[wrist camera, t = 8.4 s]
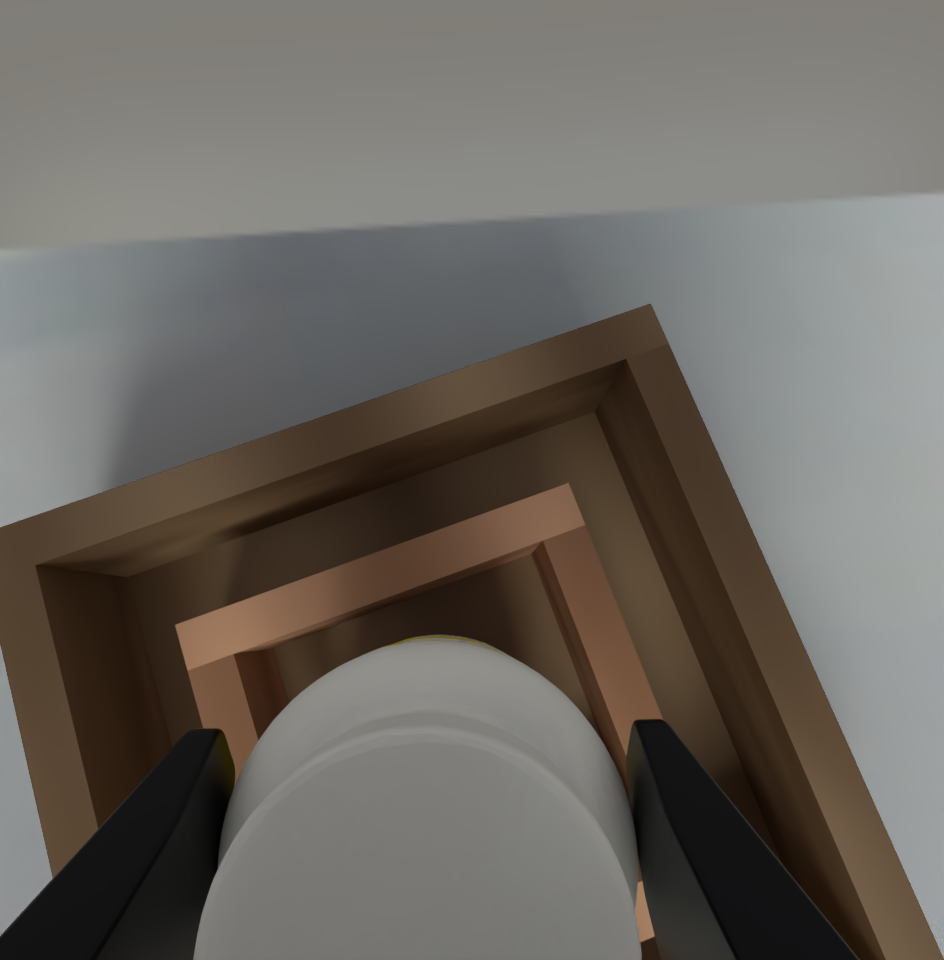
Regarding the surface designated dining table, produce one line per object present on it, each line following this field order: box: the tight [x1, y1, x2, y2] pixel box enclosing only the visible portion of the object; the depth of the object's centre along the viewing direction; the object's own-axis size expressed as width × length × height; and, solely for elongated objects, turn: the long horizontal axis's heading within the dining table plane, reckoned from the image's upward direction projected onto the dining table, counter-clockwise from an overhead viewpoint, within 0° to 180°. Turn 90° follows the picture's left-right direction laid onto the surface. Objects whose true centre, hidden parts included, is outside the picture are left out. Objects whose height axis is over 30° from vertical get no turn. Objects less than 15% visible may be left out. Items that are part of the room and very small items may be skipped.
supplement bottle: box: [193, 635, 642, 960], centre depth 11 cm, size 5×5×10 cm
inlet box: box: [0, 304, 944, 960], centre depth 16 cm, size 15×15×4 cm
